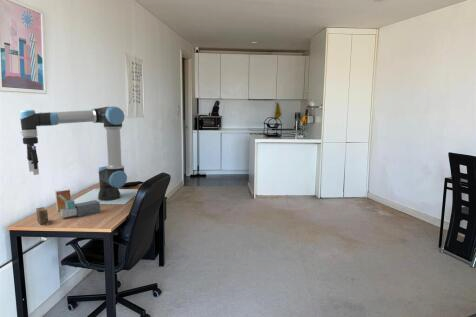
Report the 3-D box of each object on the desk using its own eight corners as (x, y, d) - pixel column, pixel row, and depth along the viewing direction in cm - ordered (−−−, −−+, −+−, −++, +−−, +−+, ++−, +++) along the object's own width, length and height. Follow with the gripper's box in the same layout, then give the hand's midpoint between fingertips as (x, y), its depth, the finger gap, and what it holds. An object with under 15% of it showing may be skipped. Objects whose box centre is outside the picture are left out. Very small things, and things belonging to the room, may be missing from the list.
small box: (57, 211, 219) (55, 191, 217) (56, 209, 224) (54, 189, 222) (71, 209, 223) (70, 189, 221) (70, 207, 229) (68, 187, 227)
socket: (45, 220, 203) (44, 206, 202) (48, 223, 197) (47, 209, 195) (37, 221, 200) (36, 208, 199) (40, 225, 194) (39, 211, 193)
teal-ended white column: (93, 209, 218) (92, 195, 217) (96, 210, 215) (95, 197, 213) (60, 215, 206) (59, 201, 205) (63, 217, 203) (61, 203, 201)
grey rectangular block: (96, 210, 221) (95, 200, 220) (100, 212, 216) (99, 202, 215) (74, 214, 212) (74, 204, 211) (78, 217, 207) (77, 206, 206)
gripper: (19, 136, 209) (23, 170, 212) (26, 138, 189) (30, 177, 193) (33, 135, 213) (37, 169, 217) (41, 137, 194) (45, 175, 197)
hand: (34, 172), depth 205 cm, fingers open, 13 cm apart
